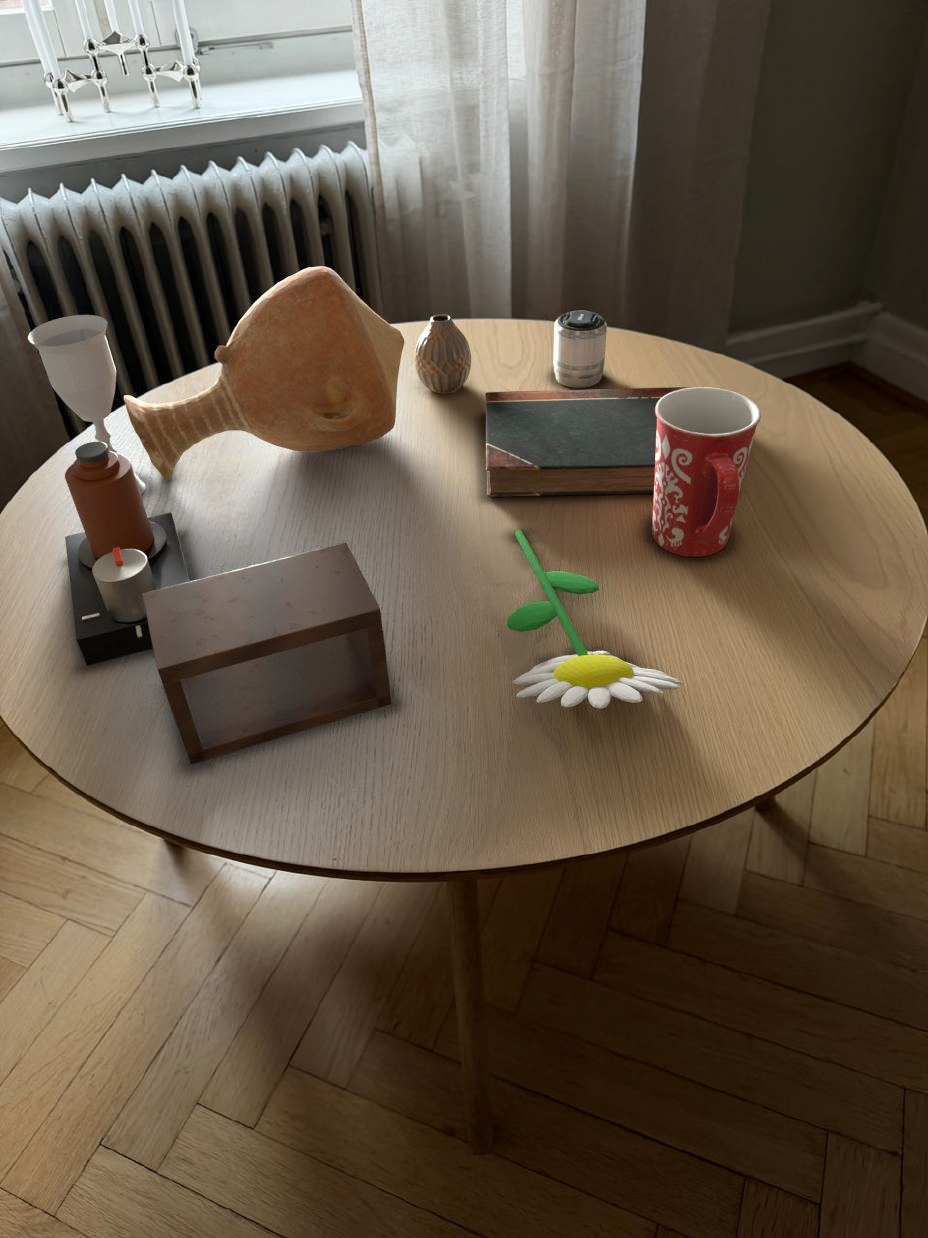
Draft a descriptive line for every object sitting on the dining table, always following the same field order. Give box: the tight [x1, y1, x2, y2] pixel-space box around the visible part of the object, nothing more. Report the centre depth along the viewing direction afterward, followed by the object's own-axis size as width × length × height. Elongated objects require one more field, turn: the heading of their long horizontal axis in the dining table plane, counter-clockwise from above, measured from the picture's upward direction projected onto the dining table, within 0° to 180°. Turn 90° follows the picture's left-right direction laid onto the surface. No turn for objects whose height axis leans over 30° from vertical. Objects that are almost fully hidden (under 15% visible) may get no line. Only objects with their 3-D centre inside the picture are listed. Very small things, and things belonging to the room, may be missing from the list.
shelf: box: [142, 542, 393, 765], centre depth 71 cm, size 16×9×10 cm, turn 111°
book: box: [484, 386, 696, 498], centre depth 100 cm, size 17×4×25 cm
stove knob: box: [92, 547, 157, 623], centre depth 77 cm, size 4×4×5 cm
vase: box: [414, 313, 472, 394], centre depth 112 cm, size 7×7×9 cm
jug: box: [123, 265, 406, 481], centre depth 98 cm, size 20×19×30 cm
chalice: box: [27, 314, 146, 496], centre depth 93 cm, size 7×7×18 cm
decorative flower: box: [505, 529, 684, 710], centre depth 78 cm, size 13×5×30 cm
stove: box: [64, 511, 191, 667], centre depth 83 cm, size 10×18×3 cm, turn 21°
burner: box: [78, 521, 167, 570], centre depth 86 cm, size 8×8×1 cm
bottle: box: [64, 441, 154, 559], centre depth 82 cm, size 6×6×10 cm
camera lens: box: [553, 309, 608, 389], centre depth 112 cm, size 6×6×8 cm
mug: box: [651, 386, 762, 558], centre depth 83 cm, size 13×9×14 cm
